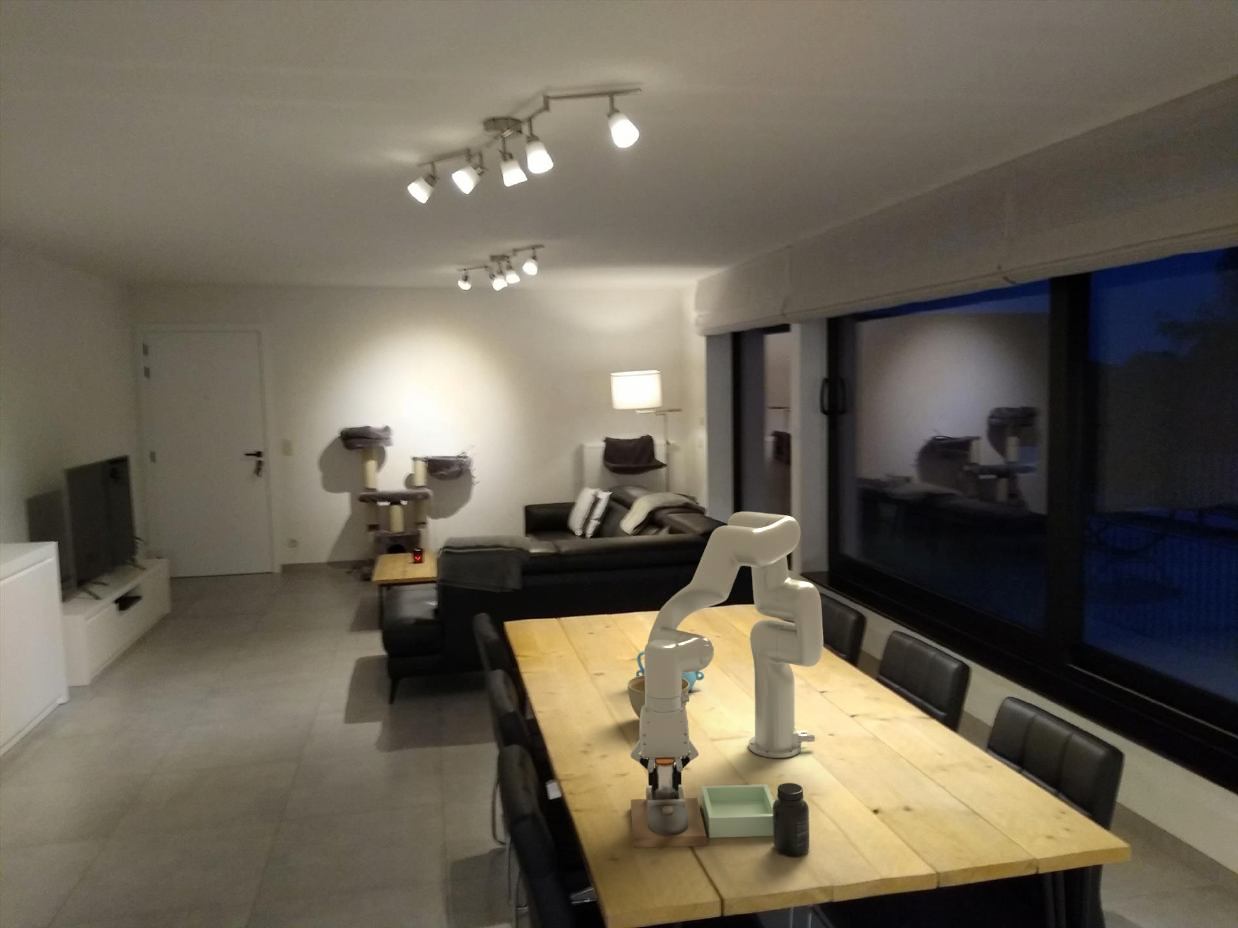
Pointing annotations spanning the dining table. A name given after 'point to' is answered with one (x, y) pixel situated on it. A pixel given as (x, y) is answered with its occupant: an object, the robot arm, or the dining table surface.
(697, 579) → the robot arm
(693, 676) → the decorative pot
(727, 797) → the tray
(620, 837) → the dining table surface
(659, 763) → the jar with copper lid
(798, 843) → the supplement bottle
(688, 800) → the wooden stand
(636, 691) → the planter bowl
